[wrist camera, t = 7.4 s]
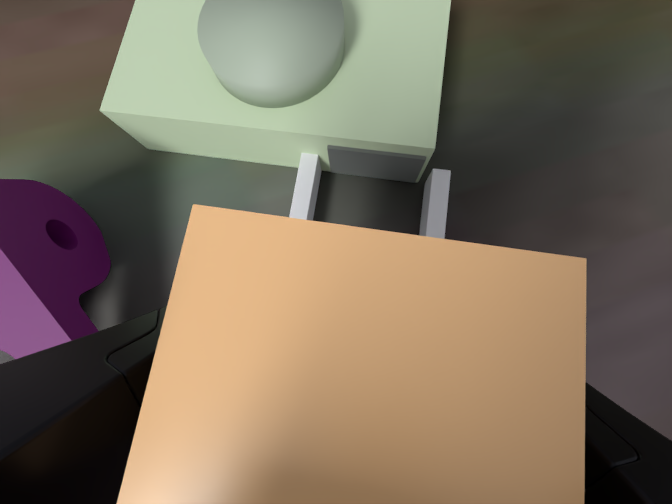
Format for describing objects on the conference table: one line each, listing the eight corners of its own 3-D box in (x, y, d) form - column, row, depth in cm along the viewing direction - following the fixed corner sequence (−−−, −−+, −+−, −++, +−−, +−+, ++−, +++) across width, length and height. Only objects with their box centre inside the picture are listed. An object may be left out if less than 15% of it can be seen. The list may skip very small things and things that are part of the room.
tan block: (404, 381, 15) (583, 616, 3) (293, 362, 16) (114, 509, 4) (413, 299, 16) (586, 258, 4) (307, 283, 16) (192, 204, 5)
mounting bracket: (192, 368, 28) (67, 179, 23) (151, 444, 20) (-53, 178, 15) (94, 415, 28) (-52, 233, 23) (11, 512, 19) (-241, 260, 15)
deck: (431, 276, 22) (466, 259, 16) (124, 230, 24) (34, 198, 17) (454, 50, 26) (491, -45, 19) (183, 26, 28) (127, -68, 21)
